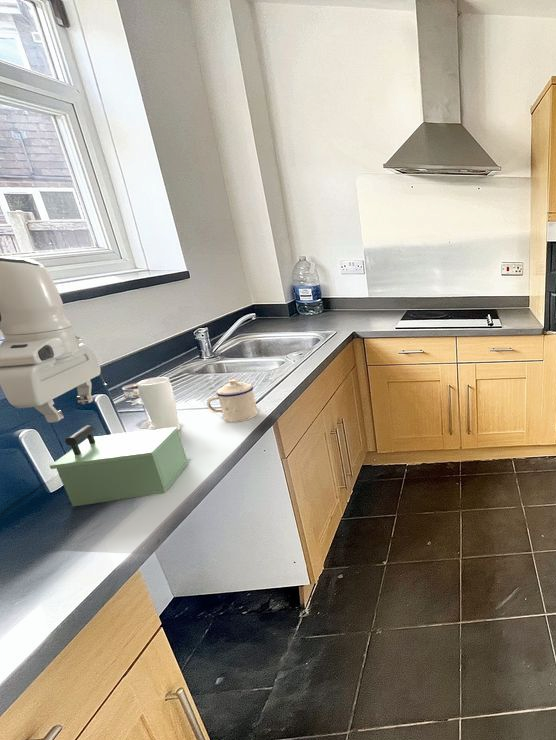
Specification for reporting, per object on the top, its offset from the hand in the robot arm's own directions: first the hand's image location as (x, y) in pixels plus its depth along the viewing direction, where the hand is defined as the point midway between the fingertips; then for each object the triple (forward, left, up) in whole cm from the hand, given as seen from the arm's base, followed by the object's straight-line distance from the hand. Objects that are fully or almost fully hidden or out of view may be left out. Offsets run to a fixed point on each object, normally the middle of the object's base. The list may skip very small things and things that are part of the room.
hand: (72, 411), depth 83 cm
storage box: (+6, 0, -18) cm, 19 cm away
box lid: (+6, 0, -9) cm, 11 cm away
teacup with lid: (+17, +33, -18) cm, 41 cm away
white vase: (+2, +28, -18) cm, 33 cm away
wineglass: (-5, +35, -18) cm, 40 cm away
